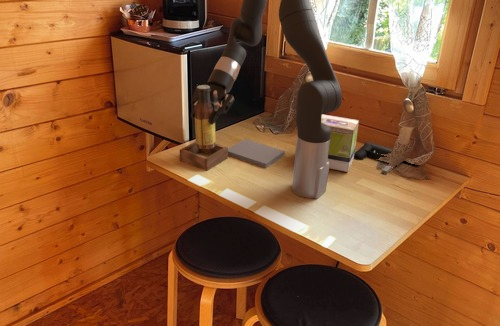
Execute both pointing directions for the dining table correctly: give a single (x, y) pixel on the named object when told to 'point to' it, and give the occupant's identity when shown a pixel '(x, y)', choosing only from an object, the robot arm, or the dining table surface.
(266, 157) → the slate board
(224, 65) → the robot arm
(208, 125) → the sauce bottle
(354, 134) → the tea box
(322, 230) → the dining table surface
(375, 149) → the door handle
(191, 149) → the box
